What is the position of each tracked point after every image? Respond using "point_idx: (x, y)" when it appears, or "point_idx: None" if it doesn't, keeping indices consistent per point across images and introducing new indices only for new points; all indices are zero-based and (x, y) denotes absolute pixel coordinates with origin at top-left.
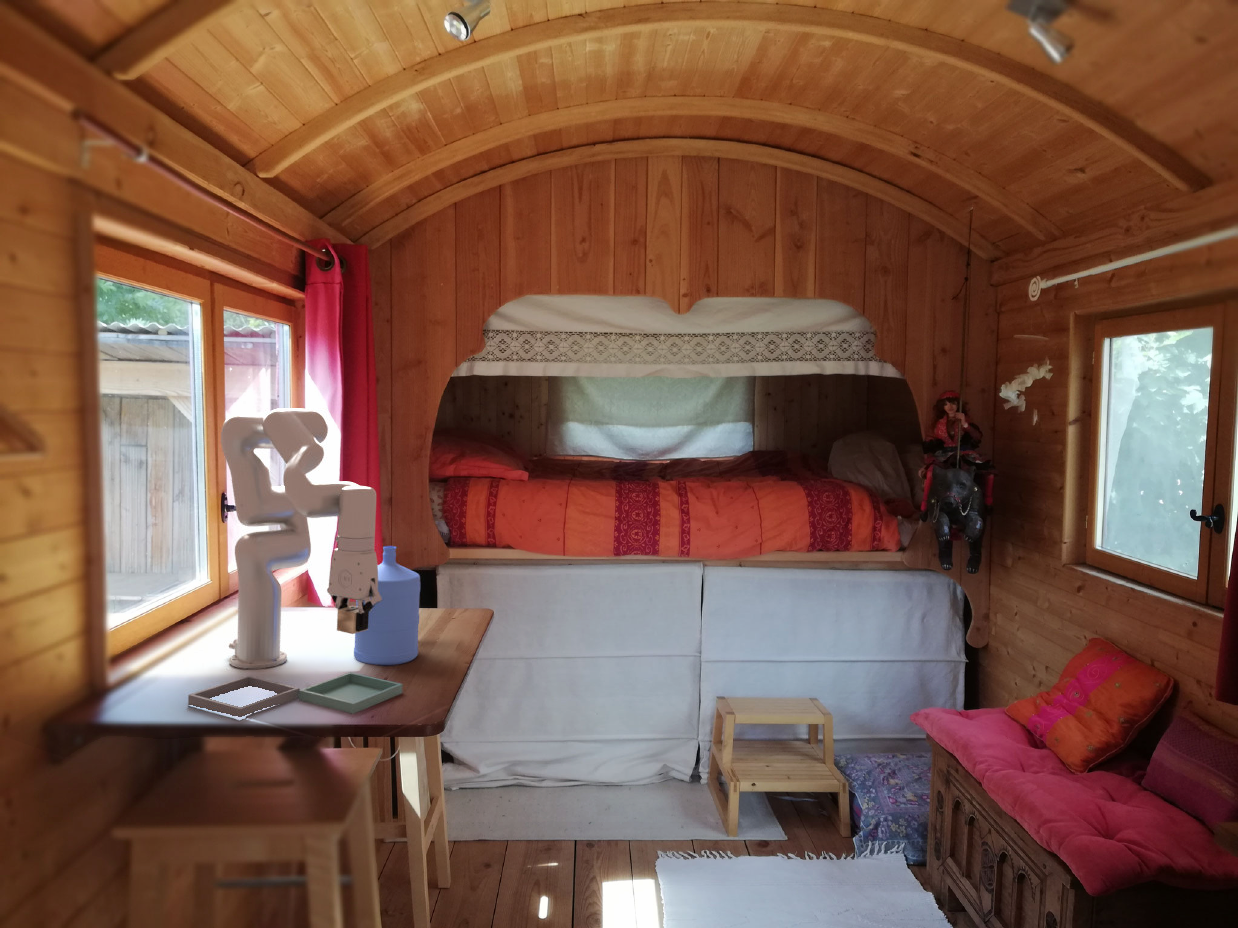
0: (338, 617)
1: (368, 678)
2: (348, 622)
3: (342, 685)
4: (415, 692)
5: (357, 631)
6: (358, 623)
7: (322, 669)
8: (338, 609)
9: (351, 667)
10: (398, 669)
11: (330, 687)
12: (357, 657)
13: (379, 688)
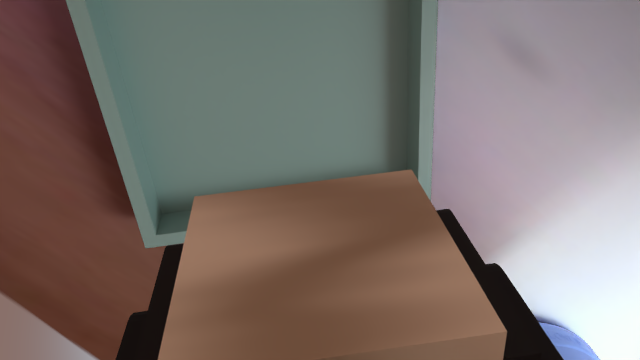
0: (442, 256)
1: None
2: (261, 255)
3: (402, 137)
4: (140, 264)
5: (177, 244)
6: (152, 307)
7: (599, 208)
8: (526, 353)
9: (522, 278)
10: None
11: (410, 78)
12: (548, 328)
13: None
